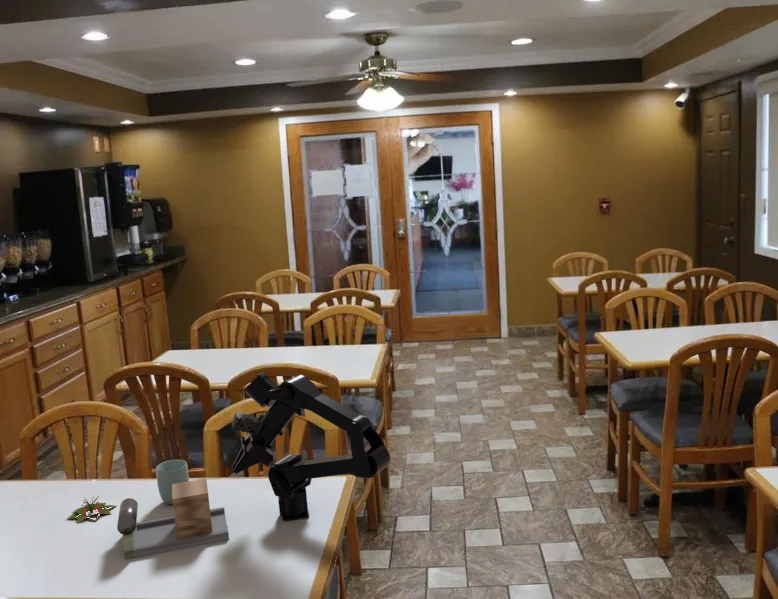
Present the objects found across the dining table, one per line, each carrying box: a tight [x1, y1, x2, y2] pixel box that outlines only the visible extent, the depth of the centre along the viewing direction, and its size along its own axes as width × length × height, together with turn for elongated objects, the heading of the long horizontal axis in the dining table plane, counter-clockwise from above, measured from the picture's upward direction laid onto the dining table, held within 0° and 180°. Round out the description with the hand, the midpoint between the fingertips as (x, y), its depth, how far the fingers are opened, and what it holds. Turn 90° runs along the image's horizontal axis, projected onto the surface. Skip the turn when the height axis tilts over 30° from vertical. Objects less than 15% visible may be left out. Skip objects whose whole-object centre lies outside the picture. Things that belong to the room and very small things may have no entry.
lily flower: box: [66, 495, 116, 524], centre depth 191 cm, size 12×12×5 cm
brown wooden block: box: [172, 477, 213, 539], centre depth 176 cm, size 8×9×10 cm
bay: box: [116, 497, 230, 560], centre depth 175 cm, size 24×14×9 cm, turn 106°
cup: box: [155, 459, 190, 505], centre depth 194 cm, size 8×8×10 cm
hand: (233, 470), depth 178 cm, fingers closed
